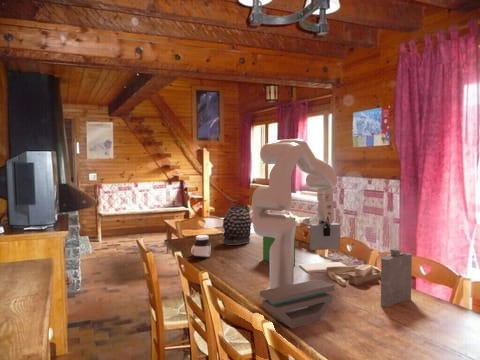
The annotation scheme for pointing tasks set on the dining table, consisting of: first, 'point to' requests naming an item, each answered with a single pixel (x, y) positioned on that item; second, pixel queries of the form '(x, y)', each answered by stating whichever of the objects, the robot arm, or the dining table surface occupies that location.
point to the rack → (346, 273)
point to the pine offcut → (363, 270)
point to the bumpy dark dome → (237, 225)
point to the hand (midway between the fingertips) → (324, 234)
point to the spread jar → (201, 247)
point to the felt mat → (319, 266)
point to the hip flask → (395, 278)
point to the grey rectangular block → (324, 237)
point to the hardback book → (266, 248)
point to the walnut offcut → (364, 279)
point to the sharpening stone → (298, 302)
